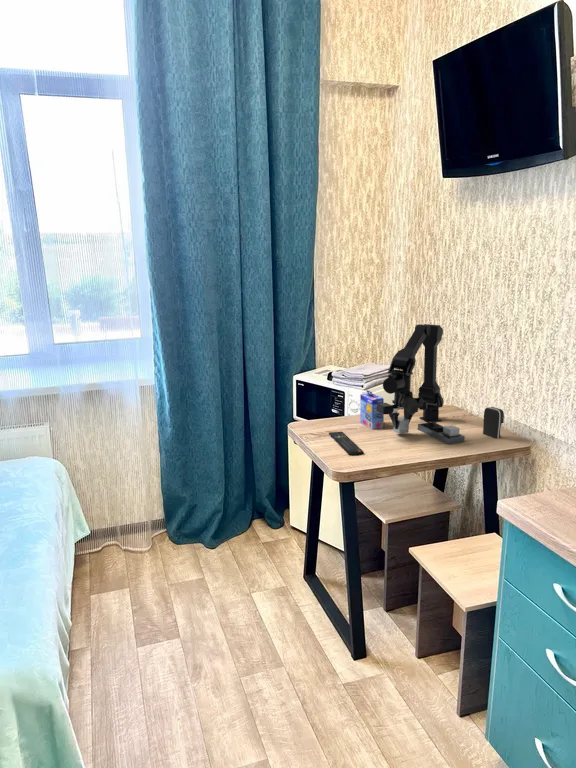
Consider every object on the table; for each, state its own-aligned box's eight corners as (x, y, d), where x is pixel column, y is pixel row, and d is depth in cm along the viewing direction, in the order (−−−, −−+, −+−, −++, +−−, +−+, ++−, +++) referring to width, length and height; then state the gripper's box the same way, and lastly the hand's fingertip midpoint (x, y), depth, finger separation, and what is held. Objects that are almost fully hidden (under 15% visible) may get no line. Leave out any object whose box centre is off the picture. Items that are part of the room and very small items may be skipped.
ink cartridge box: (359, 422, 234) (359, 388, 231) (370, 421, 236) (371, 386, 233) (371, 429, 225) (372, 393, 222) (383, 427, 227) (385, 392, 224)
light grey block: (442, 439, 210) (443, 426, 209) (451, 438, 212) (452, 425, 211) (449, 442, 207) (450, 429, 206) (458, 441, 208) (459, 428, 207)
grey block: (393, 430, 217) (393, 418, 216) (402, 429, 218) (403, 416, 217) (399, 433, 213) (399, 421, 212) (408, 432, 215) (408, 419, 214)
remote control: (341, 434, 221) (342, 431, 221) (364, 456, 198) (364, 452, 198) (328, 435, 220) (328, 432, 220) (349, 457, 197) (349, 453, 197)
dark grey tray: (417, 431, 222) (418, 424, 222) (432, 429, 225) (433, 421, 224) (448, 446, 205) (448, 438, 204) (464, 444, 208) (464, 436, 207)
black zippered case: (503, 439, 213) (506, 409, 210) (496, 440, 211) (498, 410, 208) (488, 434, 218) (491, 405, 216) (481, 435, 217) (483, 406, 214)
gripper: (392, 395, 201) (390, 438, 205) (436, 390, 208) (434, 431, 211) (376, 388, 211) (375, 429, 215) (419, 383, 218) (417, 423, 222)
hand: (401, 428), depth 215 cm, fingers closed on grey block, 4 cm apart
